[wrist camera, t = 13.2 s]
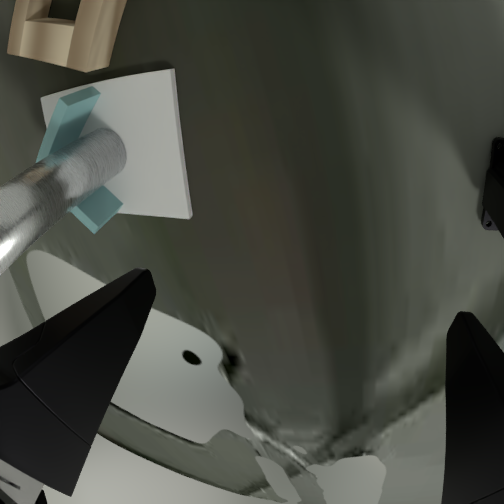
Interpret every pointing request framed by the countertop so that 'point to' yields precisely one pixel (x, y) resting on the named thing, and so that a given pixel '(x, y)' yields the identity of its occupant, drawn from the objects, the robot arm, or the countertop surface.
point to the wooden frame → (66, 33)
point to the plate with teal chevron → (126, 144)
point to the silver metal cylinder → (55, 189)
